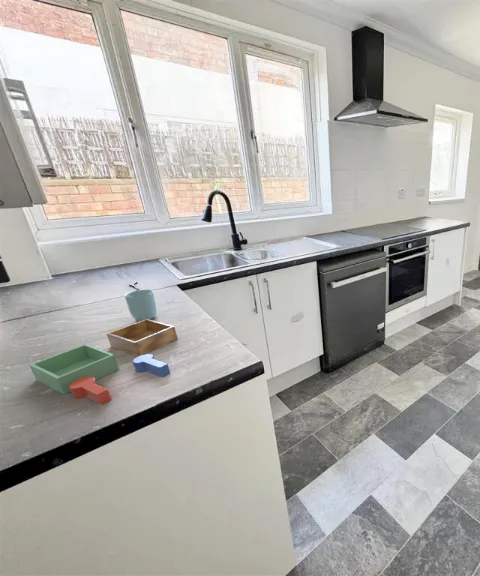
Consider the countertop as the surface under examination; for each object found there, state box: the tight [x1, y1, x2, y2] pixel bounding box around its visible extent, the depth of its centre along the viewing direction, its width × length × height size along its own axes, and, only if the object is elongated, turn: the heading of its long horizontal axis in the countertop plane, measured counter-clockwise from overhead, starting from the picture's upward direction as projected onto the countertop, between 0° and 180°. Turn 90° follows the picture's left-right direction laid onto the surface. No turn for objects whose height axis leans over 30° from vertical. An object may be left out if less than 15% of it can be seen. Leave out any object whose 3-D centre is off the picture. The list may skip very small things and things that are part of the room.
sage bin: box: [29, 343, 120, 395], centre depth 79 cm, size 11×14×4 cm
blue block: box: [132, 353, 171, 378], centre depth 81 cm, size 11×4×3 cm, turn 65°
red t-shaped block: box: [69, 377, 112, 406], centre depth 71 cm, size 11×4×3 cm, turn 65°
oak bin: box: [106, 319, 179, 357], centre depth 94 cm, size 11×14×4 cm
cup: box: [124, 289, 158, 322], centre depth 110 cm, size 8×8×10 cm
